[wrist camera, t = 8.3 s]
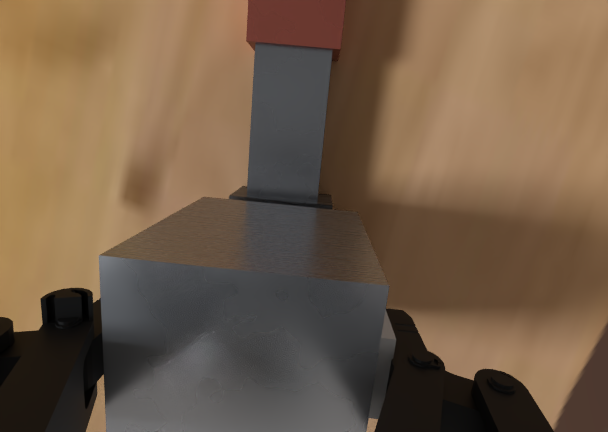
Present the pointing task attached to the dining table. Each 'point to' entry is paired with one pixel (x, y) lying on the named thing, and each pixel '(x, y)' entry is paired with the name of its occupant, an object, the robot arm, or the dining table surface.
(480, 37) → the dining table surface
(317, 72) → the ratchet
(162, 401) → the grey stone cube
